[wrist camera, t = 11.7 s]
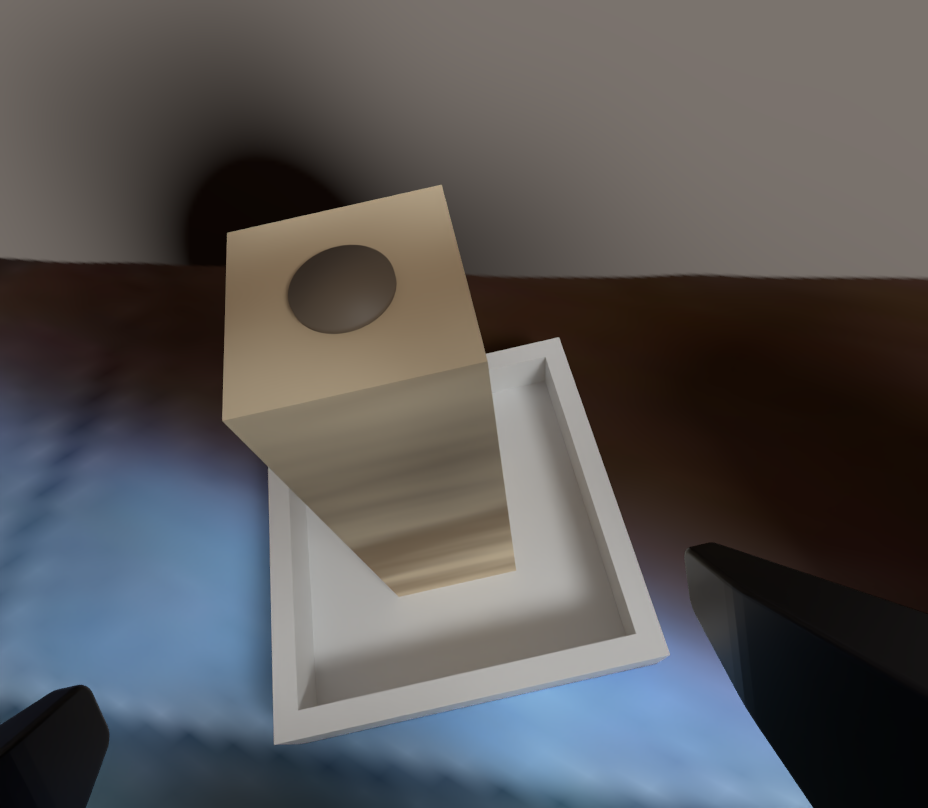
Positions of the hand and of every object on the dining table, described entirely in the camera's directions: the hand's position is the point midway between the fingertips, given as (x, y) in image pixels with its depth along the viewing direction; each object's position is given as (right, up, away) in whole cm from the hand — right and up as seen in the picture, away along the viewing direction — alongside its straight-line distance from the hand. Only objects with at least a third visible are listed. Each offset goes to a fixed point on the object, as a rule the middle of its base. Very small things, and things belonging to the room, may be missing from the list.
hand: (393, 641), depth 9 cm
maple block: (0, -1, +14) cm, 14 cm away
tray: (0, -2, +15) cm, 15 cm away
